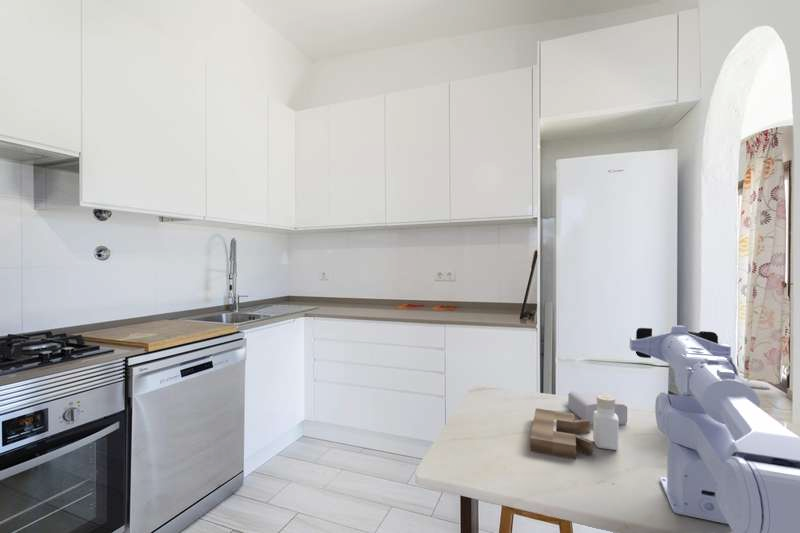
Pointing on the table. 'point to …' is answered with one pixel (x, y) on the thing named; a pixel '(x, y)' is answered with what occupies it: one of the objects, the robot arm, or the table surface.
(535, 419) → the locating nest
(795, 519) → the robot arm
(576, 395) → the charger
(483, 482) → the table surface
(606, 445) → the pepper shaker
